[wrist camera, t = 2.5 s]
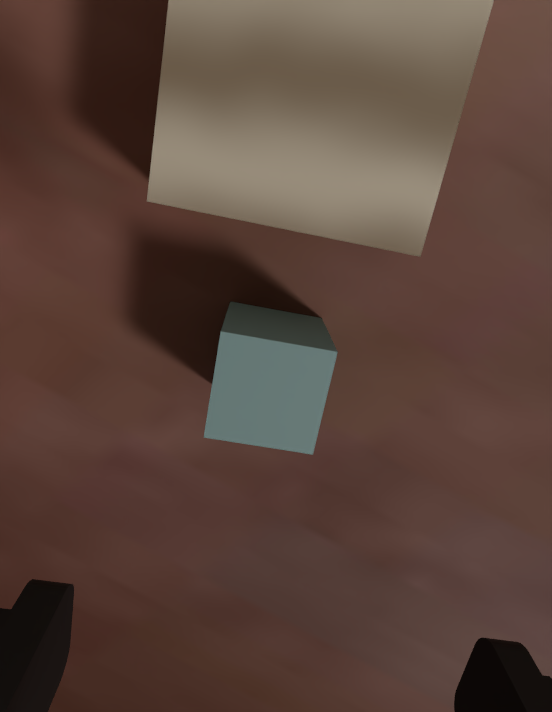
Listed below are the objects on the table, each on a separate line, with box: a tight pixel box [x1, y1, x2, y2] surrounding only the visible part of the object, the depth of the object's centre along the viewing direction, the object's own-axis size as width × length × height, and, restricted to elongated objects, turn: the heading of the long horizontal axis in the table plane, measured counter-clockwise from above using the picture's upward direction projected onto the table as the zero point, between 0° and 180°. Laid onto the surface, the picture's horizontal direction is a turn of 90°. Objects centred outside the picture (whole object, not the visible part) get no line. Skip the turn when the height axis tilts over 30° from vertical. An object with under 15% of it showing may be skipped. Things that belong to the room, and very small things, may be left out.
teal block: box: [204, 302, 337, 454], centre depth 24 cm, size 5×5×6 cm
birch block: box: [147, 0, 494, 256], centre depth 20 cm, size 11×11×6 cm
